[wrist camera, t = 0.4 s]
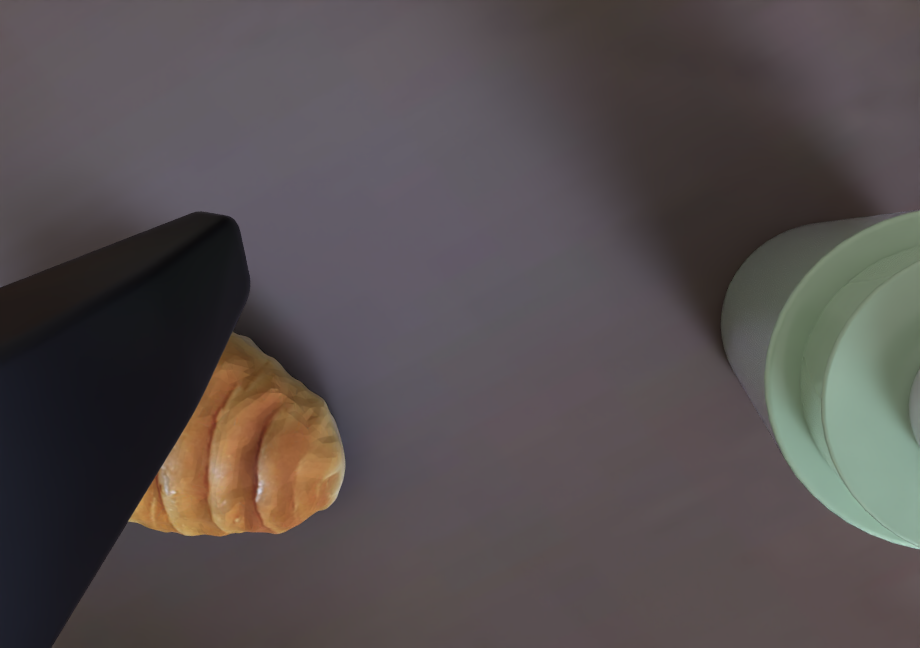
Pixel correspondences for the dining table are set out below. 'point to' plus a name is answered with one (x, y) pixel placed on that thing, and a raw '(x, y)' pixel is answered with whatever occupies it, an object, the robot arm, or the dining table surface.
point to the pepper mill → (838, 362)
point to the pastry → (247, 454)
